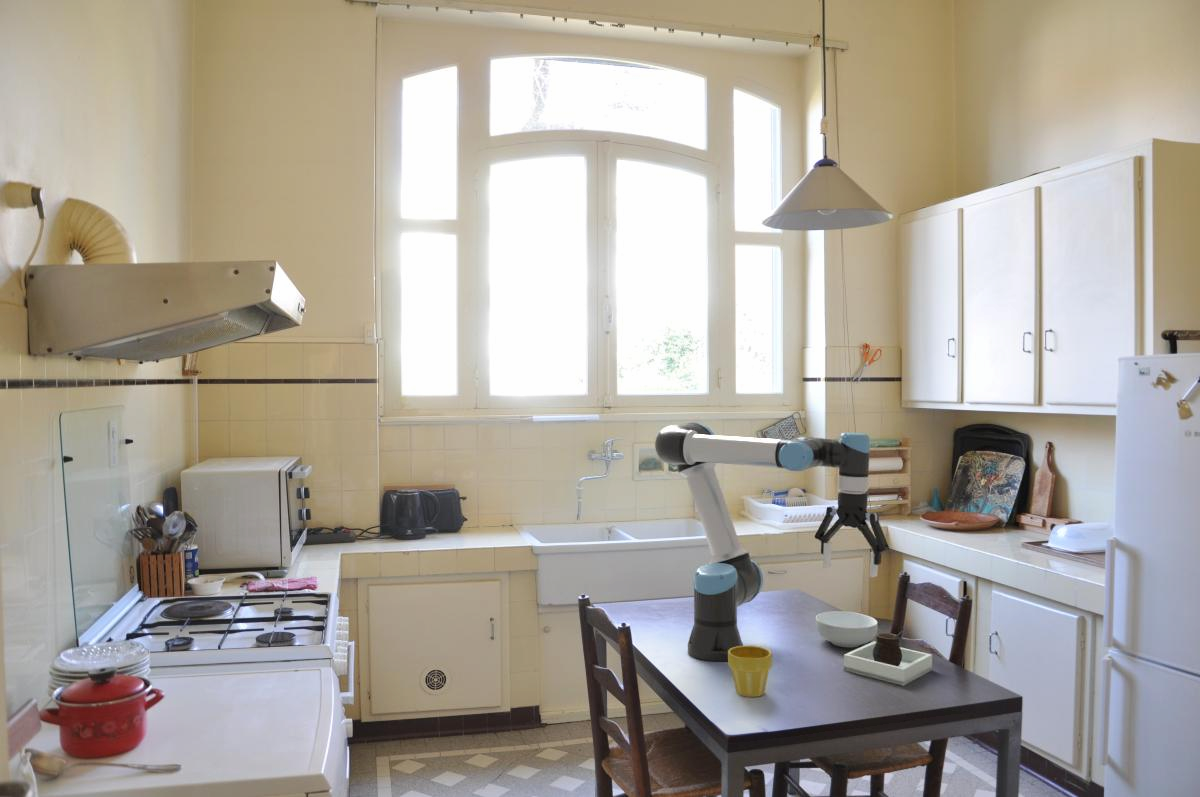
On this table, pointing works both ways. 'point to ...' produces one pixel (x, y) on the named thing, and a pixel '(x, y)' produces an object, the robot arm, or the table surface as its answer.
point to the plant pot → (750, 669)
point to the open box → (906, 672)
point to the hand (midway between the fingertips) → (849, 571)
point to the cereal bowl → (846, 628)
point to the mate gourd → (887, 649)
